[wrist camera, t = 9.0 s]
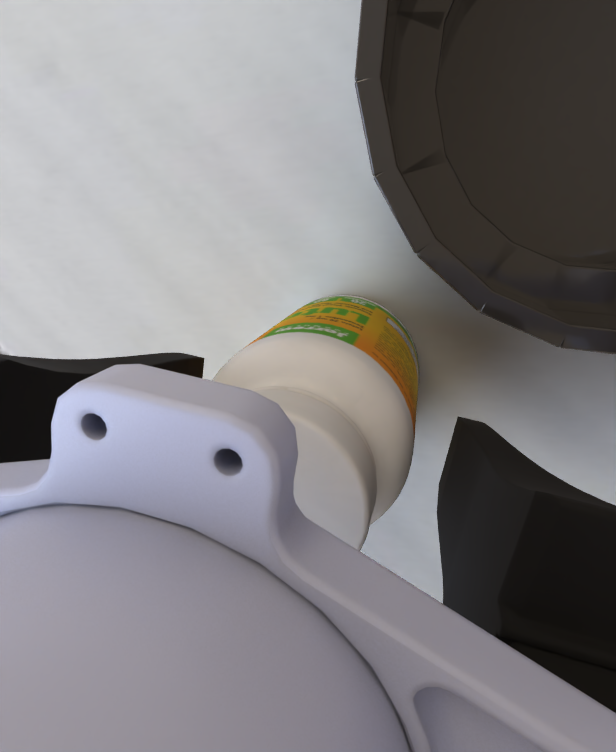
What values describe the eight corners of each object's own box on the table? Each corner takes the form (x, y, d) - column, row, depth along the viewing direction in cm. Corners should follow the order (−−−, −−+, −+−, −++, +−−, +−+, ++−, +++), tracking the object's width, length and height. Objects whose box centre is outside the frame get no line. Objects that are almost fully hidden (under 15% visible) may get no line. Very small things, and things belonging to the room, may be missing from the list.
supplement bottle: (390, 270, 17) (347, 329, 8) (439, 410, 18) (449, 597, 9) (253, 322, 19) (94, 418, 10) (306, 448, 20) (205, 637, 11)
